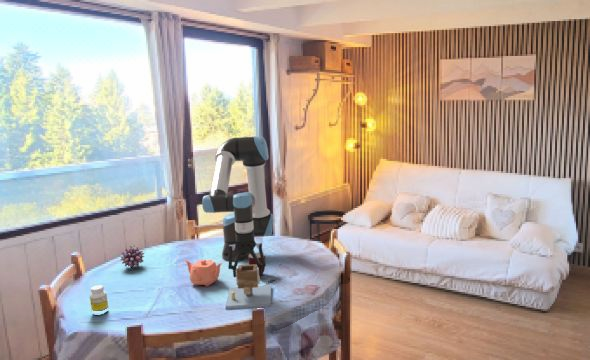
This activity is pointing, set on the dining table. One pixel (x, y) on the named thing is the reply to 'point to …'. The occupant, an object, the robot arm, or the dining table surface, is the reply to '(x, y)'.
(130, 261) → the spiky ball
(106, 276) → the dining table surface
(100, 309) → the pill bottle
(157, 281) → the dining table surface
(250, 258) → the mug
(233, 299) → the post plate
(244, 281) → the tan hollow block
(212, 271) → the teapot
